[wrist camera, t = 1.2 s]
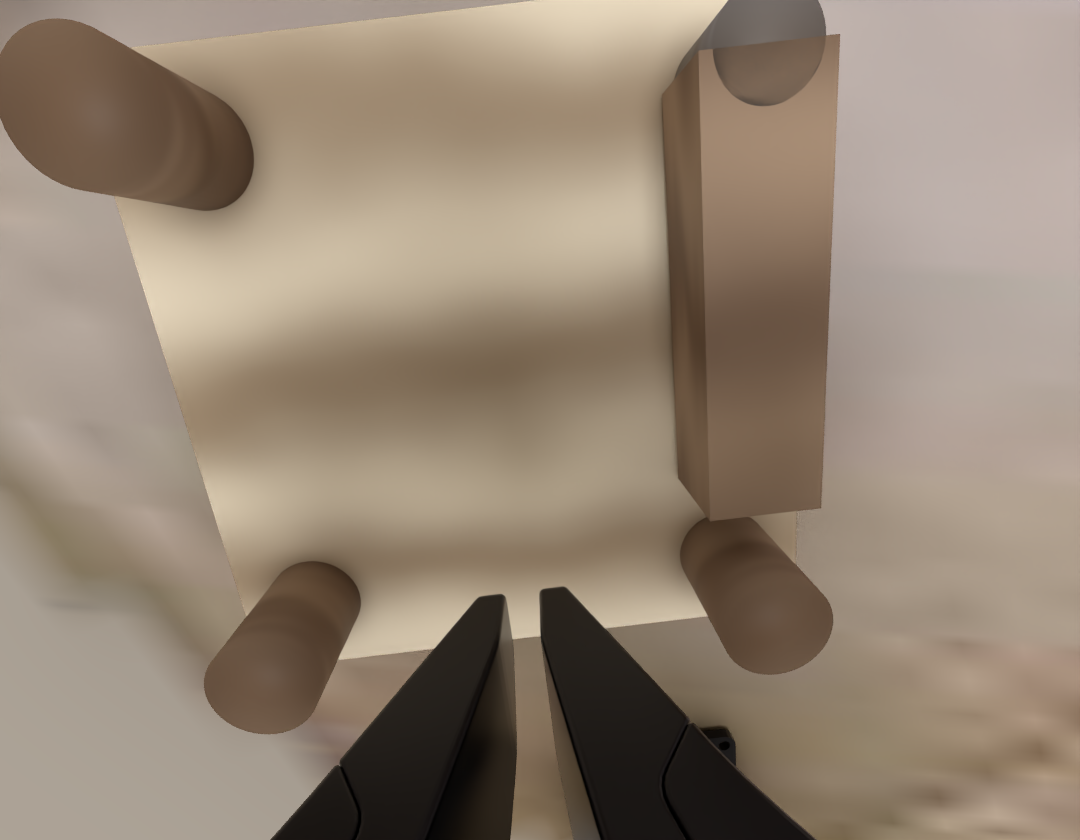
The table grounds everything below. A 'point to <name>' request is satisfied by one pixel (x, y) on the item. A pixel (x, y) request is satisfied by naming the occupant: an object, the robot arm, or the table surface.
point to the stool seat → (416, 324)
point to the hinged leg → (752, 255)
